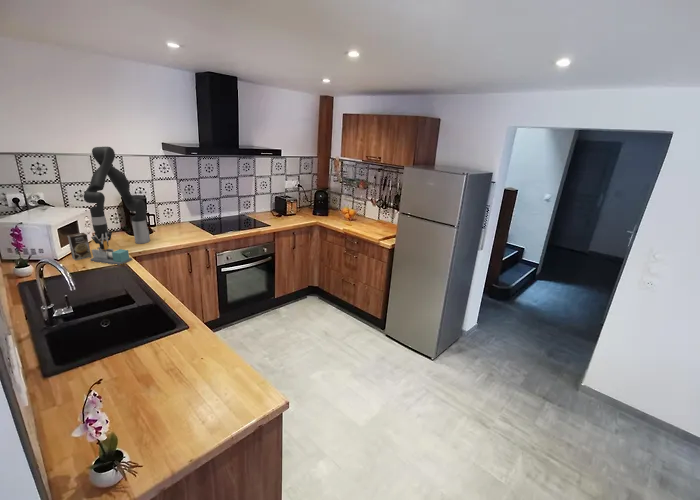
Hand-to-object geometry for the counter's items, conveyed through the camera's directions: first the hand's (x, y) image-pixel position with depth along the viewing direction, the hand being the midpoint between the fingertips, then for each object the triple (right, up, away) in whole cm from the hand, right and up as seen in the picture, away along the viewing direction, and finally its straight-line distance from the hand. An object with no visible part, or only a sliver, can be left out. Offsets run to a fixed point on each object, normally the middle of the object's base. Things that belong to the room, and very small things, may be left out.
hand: (104, 248), depth 224 cm
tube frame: (+3, -8, +2) cm, 9 cm away
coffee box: (-18, -6, +4) cm, 20 cm away
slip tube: (+4, -6, +1) cm, 7 cm away
